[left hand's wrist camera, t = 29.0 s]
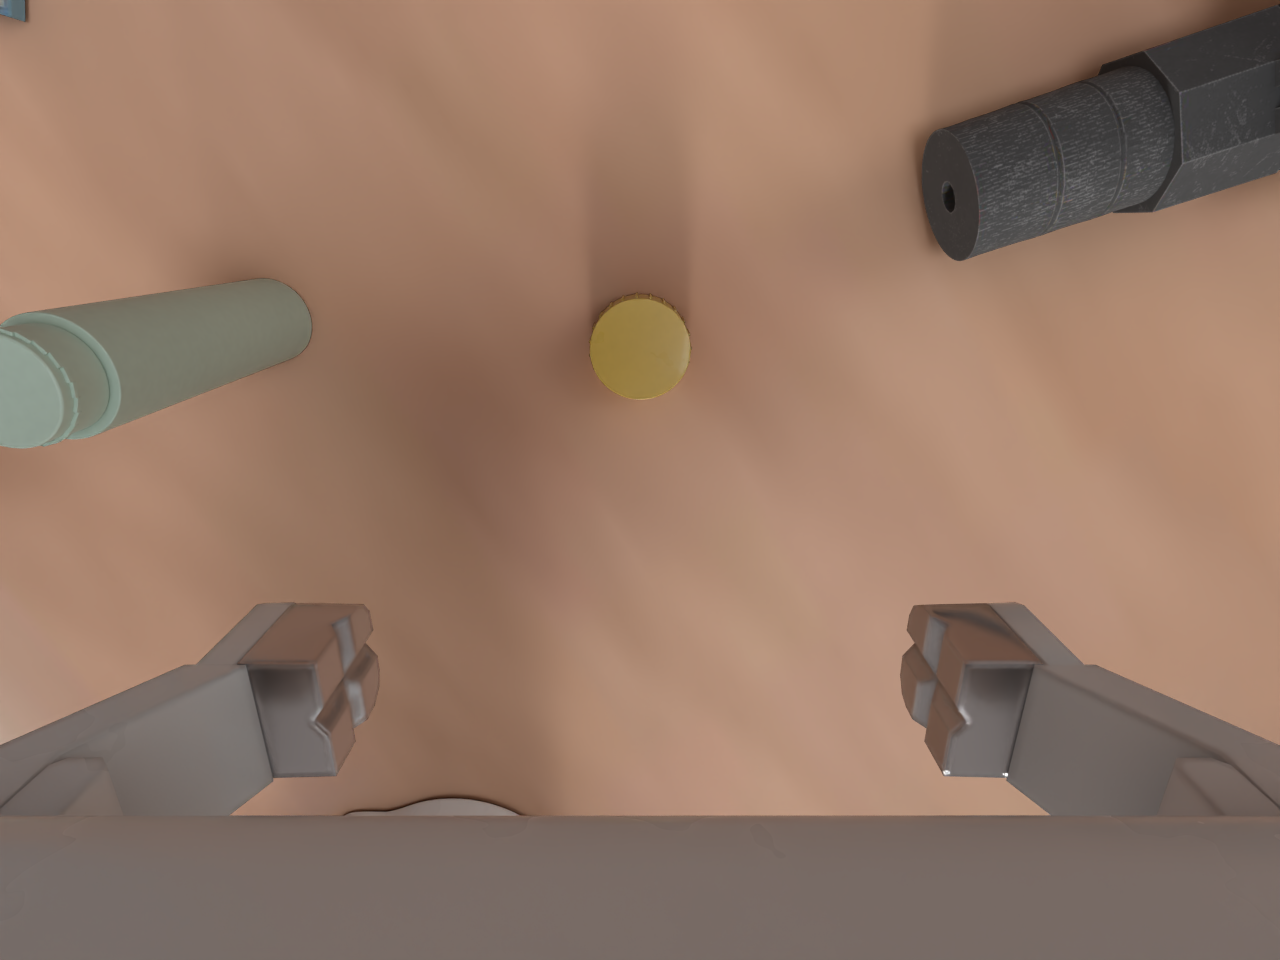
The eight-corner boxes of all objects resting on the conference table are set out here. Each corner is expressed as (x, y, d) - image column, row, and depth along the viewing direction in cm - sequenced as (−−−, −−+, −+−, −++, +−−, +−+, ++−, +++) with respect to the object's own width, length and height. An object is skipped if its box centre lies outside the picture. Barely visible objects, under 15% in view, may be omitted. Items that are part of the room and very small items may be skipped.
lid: (571, 349, 36) (567, 358, 34) (632, 270, 34) (632, 274, 32) (647, 409, 37) (647, 421, 35) (709, 335, 35) (713, 342, 33)
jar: (325, 349, 36) (99, 441, 21) (251, 369, 36) (-23, 472, 21) (291, 268, 34) (24, 304, 19) (215, 289, 35) (-105, 340, 20)
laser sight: (903, 89, 31) (1015, 32, 22) (1434, -97, 29) (1815, -250, 20) (937, 299, 35) (1048, 327, 25) (1417, 147, 32) (1737, 117, 23)
